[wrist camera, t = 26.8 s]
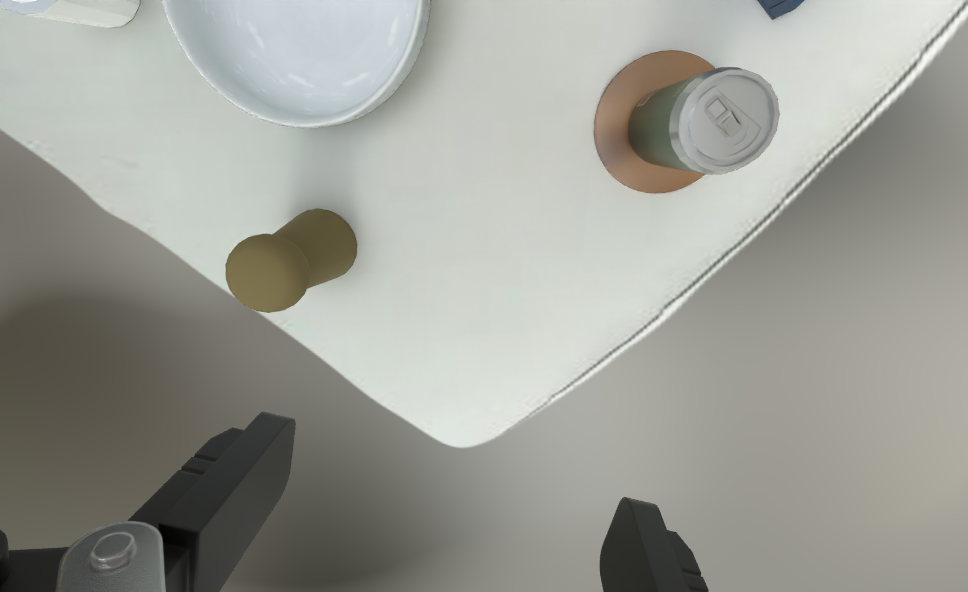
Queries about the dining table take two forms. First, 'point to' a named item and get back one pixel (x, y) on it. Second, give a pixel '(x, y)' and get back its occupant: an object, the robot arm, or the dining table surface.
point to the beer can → (706, 122)
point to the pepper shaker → (290, 260)
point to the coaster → (617, 112)
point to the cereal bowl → (302, 53)
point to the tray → (779, 6)
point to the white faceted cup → (77, 10)
